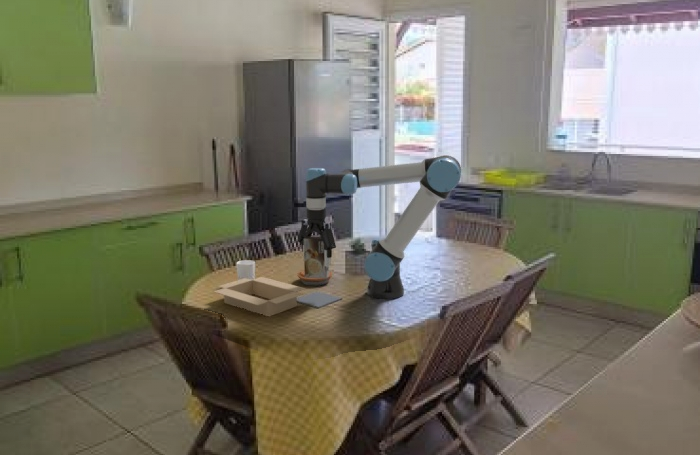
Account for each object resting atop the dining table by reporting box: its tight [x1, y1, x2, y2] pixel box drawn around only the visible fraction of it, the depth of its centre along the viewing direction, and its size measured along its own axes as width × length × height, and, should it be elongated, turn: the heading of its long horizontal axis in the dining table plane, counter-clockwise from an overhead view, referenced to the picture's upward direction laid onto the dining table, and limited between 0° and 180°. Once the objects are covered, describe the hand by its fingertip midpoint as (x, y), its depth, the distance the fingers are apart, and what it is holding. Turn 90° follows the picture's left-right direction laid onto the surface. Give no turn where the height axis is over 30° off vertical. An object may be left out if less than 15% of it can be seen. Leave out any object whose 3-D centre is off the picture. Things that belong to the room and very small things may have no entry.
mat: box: [297, 290, 343, 309], centre depth 253 cm, size 14×14×1 cm
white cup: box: [236, 259, 256, 280], centre depth 273 cm, size 8×8×10 cm
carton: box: [213, 276, 306, 317], centre depth 247 cm, size 33×25×6 cm
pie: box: [296, 269, 333, 286], centre depth 277 cm, size 15×16×5 cm
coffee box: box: [303, 234, 330, 279], centre depth 249 cm, size 9×6×16 cm
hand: (316, 263), depth 250 cm, fingers closed on coffee box, 11 cm apart
